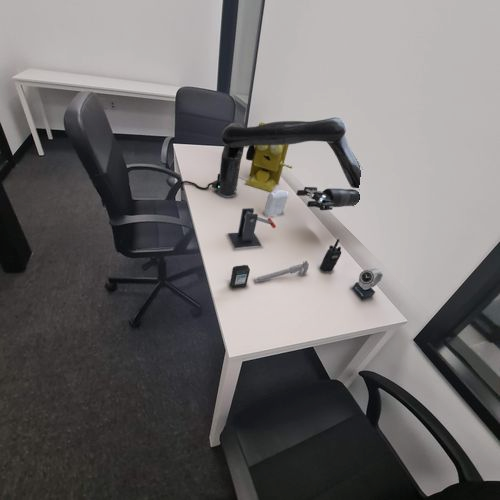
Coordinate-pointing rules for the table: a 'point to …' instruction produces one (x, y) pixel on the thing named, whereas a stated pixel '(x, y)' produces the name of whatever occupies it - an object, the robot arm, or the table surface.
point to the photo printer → (276, 202)
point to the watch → (367, 283)
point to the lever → (263, 220)
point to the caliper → (285, 272)
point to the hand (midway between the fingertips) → (302, 198)
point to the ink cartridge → (239, 276)
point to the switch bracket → (246, 231)
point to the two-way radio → (331, 258)
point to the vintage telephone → (266, 165)
